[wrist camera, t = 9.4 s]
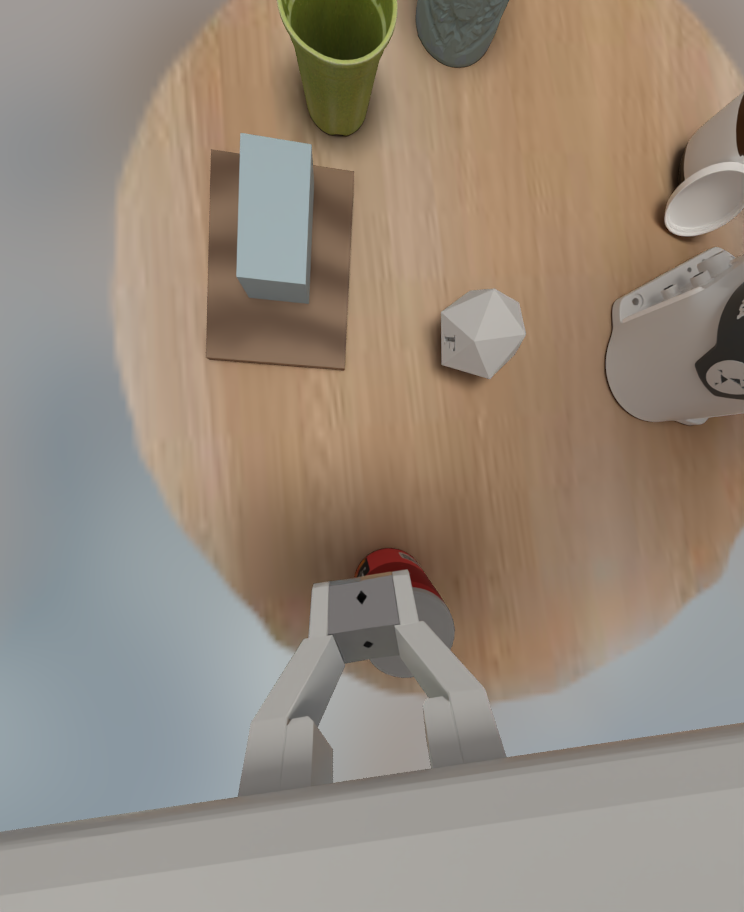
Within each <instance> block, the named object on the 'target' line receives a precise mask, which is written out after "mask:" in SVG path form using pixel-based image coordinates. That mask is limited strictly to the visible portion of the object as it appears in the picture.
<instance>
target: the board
mask: <svg viewBox="0 0 744 912" xmlns="http://www.w3.org/2000/svg"><path fill="white" fill-rule="evenodd" d="M239 169H240V154H238V153H231V152H225V151H218V150H212V149H211V176H210V216H209V257H208V297H207V338H206V358H208V359H210V360H222V361H235V362H248V363H260V364H273V365H285V366H298V367H310V368H323V369H335V370H344V368H345V348H346V328H347V308H348V288H349V268H350V247H351V227H352V207H353V187H354V171H347V170H341V169H334V168H328V167H322V166H315V165H313V174H314V199H313V222H312V245H311V269H310V292H309V304H305V303H295V302H286V301H276V300H266V299H257V298H249V297H248V295H247V293H246V292H245V290H244V289H243V287H242V285H241V284H240V282H239V280H238V279H237V277H236V271H237V237H238V203H239Z"/></svg>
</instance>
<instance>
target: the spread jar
mask: <svg viewBox="0 0 744 912" xmlns="http://www.w3.org/2000/svg"><path fill="white" fill-rule="evenodd" d="M678 181H679V186H678V187H677V188H676V190H675V191H674V192H673V193H672V195H671V196H670V198H669V200H668V202H667V205H666V209H665V216H664V220H665V225H666V227H667V229H668V230H669V231H670V232H672V233H673V234H676V235H678V236H685V237H686V236H697V235H702V234H705V233H708V232H711V231H713V230H715V229H717V228H719V227H721V226H723V225H725V224H726V223H727V222H729V221H730V220H732V219H733V218H734V217H735V216H736V215H737V214H739V213H740V212H741V210H742V209H743V208H744V92H742V93H741V94H740V95H739V96H737V97H736V98H735V99H734V100H732V101H731V102H730V103H729V104H728V105H726V106H725V107H724V108H723V109H722V110H720V111H719V112H718V113H717V114H716V115H714V116H713V117H712V118H711V119H710V120H708V121H707V122H706V123H705V124H704V125H703V126H702V127H701V128H700V129H699V130H697V131H696V133H695V134H694V135H693V136H692V137H691V138H690V140H689V142H688V143H687V145H686V147H685V150H684V152H683V155H682V158H681V162H680V167H679V176H678Z"/></svg>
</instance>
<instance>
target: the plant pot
mask: <svg viewBox="0 0 744 912" xmlns="http://www.w3.org/2000/svg"><path fill="white" fill-rule="evenodd" d="M277 4H278V9H279V13H280V16H281V19H282V21H283V24H284V26H285V28H286V30H287V32H288V33H289V35H290V38H291V40H292V43H293V45H294V47H295V52H296V56H297V61H298V65H299V70H300V74H301V79H302V83H303V88H304V93H305V97H306V102H307V107H308V110H309V113H310V116H311V118H312V119H313V121H314V122H315V124H316V125H317V126H318V127H319V128H320V129H321V130H323V131H324V132H326V133H328V134H330V135H333V134H341V135H345V136H346V135H350V134H352V133H354V132H355V131H356V130H357V129H358V128H359V127H360V126H361V125H362V123H363V121H364V119H365V116H366V112H367V108H368V104H369V99H370V95H371V91H372V87H373V83H374V79H375V75H376V71H377V67H378V63H379V60H380V58H381V56H382V54H383V51H384V49H385V48H386V46H387V45H388V43H389V41H390V39H391V37H392V34H393V31H394V28H395V24H396V18H397V0H277Z"/></svg>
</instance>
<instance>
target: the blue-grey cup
mask: <svg viewBox="0 0 744 912" xmlns="http://www.w3.org/2000/svg"><path fill="white" fill-rule="evenodd" d="M508 2H509V0H418V2H417V8H416V25H417V31H418V33H419V34H418V36H419V38H420V40H421V41H422V44H423V45H424V47H425V49H426V50H427V51H428V52H429V53H430V54H431V55H432V56H433V57H434V58H435V59H437V60H438V61H439V62H441V63H442V64H445V65H447V66H450V67H466V66H469V65H472V64H473V63H475V62H477V61H478V60H479V59H480V58H481V57H482V56H483V55H484V53H485V52H486V51H487V49H488V48H489V46H490V44H491V41H492V39H493V37H494V35H495V33H496V30H497V27H498V24H499V22H500V19H501V16H502V14H503V12H504V10H505V8H506V6H507V4H508Z"/></svg>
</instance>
